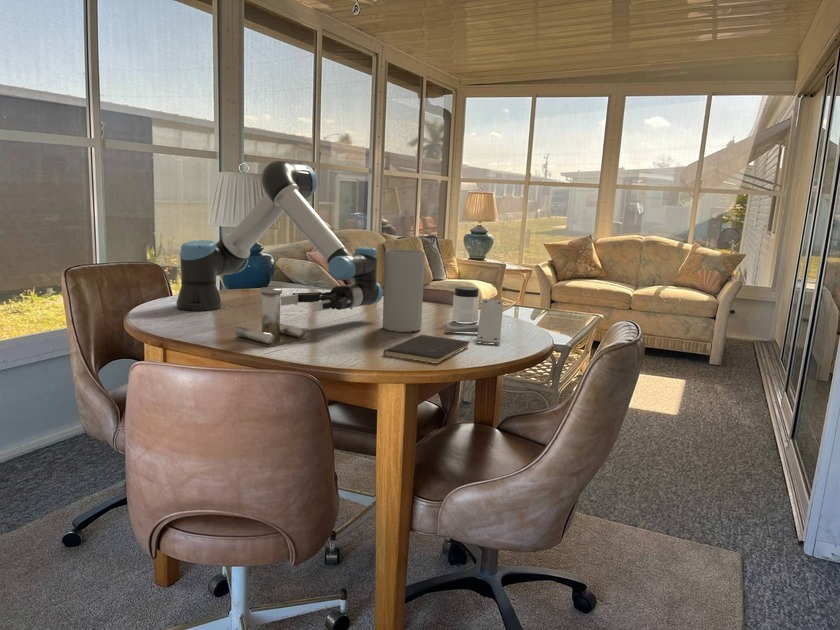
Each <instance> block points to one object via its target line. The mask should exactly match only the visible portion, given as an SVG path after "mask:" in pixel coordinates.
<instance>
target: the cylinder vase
mask: <svg viewBox="0 0 840 630" xmlns="http://www.w3.org/2000/svg"><path fill="white" fill-rule="evenodd" d="M425 254H426V253H425V251H423V250H422V251H421V250H413V249H386V250H385V251H384V274H383V275H384V276H383V277H384V280H383V299H382V300H383V303H382V308H383V309H382V328H383V329H384V330H385V329H386V330H385V331H388V330H389V331H388V332H392V331H394V332H393V333H404V332H406V333H413V332H412V331H416V332H418V330H419V331H420V330H421V329H422V325H423V323H422V322H423V321H422V320H423V319H422V317H423V300H424V299H423V297H424V282H425V281H424V277H425V260H426V259H425V256H426V255H425Z"/></svg>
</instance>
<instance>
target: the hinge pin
mask: <svg viewBox="0 0 840 630" xmlns="http://www.w3.org/2000/svg"><path fill="white" fill-rule="evenodd" d="M259 291H260V292H259V293H260V294H261V332H265V333H269V334H273V335H274V337H275V339H277V338H280V324H281V295H282V294H283V288H282V287H274V286H272V287H271V286H268V287H267V286H265V287H260V288H259Z"/></svg>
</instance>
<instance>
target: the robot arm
mask: <svg viewBox="0 0 840 630" xmlns="http://www.w3.org/2000/svg"><path fill="white" fill-rule="evenodd" d="M317 179H318V178H317V175H316V172H315V171H314V169H313V168H312V167H311V166H309V165H308V164H306V163H302V162H298V161H297V162H295V161H287V160H273V161H271V162H270V163H269V164H267V165H266V166H264V169H263V171H262V174H261V186H262V188H263V190H264V191H265V194H264V195H263V196H262V198H261V199H260V200H259V201H258V202H257V203H256V204H255V205H254V206H253V208H251V210H250V211H249V212H248V213H247V215H246V216H245V217H244V218H243V219H242V220H241V221H240V223H239V224H238V225H237V226H236V227H235V228H234V229H233V230H232V231H231V233H224V234H223V236H222V237H221V238H220V239H219V240H218V241H217V242H216V241H213V240H210V239H209V240H208V239H204V240H203V239H202V240H201V239H200V240H191V241H186V242H184V243H182V245H181V246H180V255H179V257H180V281H181V286H180V289H179V293H178V297H177V300H176V302H175V303H176V305H175V306H176V309H177V310H181V309H182V311H189V310H192V312H193V311H195V312H196V311H197V312H201V311H202V312H205V311H204V310H206V311H213V310H218V309H221V308H222V306H223V305H222V304H223V303H222V299H221V296H220V292H219V291H218V288H217V277H218V276H225V275H235V274H238V273H240V272H242V271H243V270H245V268H246V267H247V265H248V263H249V257H250V256H251V248H253V246H254V245H255V244H256V243H257V242H258V241H259V239H260V238H261V237H263V236H264V234H265V233H266V232H267V231H268V230H269V229H270V228H271V226H272V225H274V223H275V222H276V221H277V220H278V219H279V217H280V216H281V215H282V214H283V213H284V212H285V214H286V215H287V216H288V217H289V218H290V220H291V221H292V222H293V223H294V224H295V225H296V227H297V228H298V229H299V230H300V232H301V233H302V234H303V235H304V236H305V237H306V239H307V240H308V241H309V243H311V244H312V246H313V247H314V248H315V249H316V251H317V252H318V254H320V255H321V257H322V258H323V259H324V260H325V262H326V263H327V264H328V266H327V268H328V272H329V273H328V274H329V275H330V276H331V277H332V278H333V279H334V280H337V281H348V280H351V279H353V280H354V281H353V283H351V284H344V285H338V286H337V285H336V286H334V287H333V288H331V290H330V291H326V292H322V291H321V292H320V291H317V292H292V294H290V295H288V294H287V295H282V296H281V295H280V306H288V305H296V306H297V305H298V304H299V303H312V312H315V313H316V312H321V311H327V310H335V309H336V310H338V311H340V310H345V309H350V310H353V308H357V307H364V306H371V305H374V304H377V303H379V302H380V301H381V299H382V297H383V296H384V290H383V288H382V286H381V284H380V283H379V282H377V274H378V273H377V272H378V250H377V248H375V247H370V246H369V247H368V246H358V247H355V249H354V253H353V254H351V252H349V250H348V249H347V248H346V246H344V244H343V243H342V241H340V239H339V238H338V237H337V235H335V233H334V232H333V231H332V229H331V228H330V227H329V226H328V225H327V224H326V222H325V221H324V220H323V219H322V218H321V217H320V215H319V214H318V213H317V212H316V211H315V209H314V208H313V207H312V206H311V204H309V202H308V201H307V198H309V197H311V196H312V195H314V194H315V192H316V190H317V186H318V180H317Z"/></svg>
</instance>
